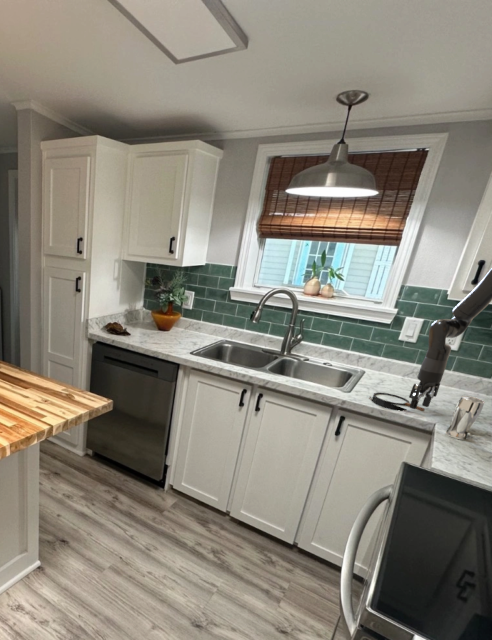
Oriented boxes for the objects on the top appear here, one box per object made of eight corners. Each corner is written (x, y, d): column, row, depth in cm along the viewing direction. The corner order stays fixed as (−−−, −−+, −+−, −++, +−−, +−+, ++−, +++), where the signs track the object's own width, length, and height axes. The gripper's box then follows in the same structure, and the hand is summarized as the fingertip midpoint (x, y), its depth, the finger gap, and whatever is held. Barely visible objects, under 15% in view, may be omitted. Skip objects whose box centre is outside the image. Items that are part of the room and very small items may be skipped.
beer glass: (443, 429, 156) (459, 393, 150) (466, 435, 152) (484, 399, 147) (444, 436, 151) (461, 399, 145) (468, 442, 147) (486, 405, 141)
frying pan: (429, 416, 169) (433, 407, 167) (410, 420, 164) (414, 410, 162) (383, 399, 186) (385, 390, 184) (364, 402, 180) (367, 393, 179)
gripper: (431, 373, 155) (418, 412, 161) (453, 371, 161) (439, 408, 166) (411, 367, 162) (398, 405, 167) (432, 365, 167) (419, 402, 173)
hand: (418, 407), depth 167 cm, fingers open, 8 cm apart
